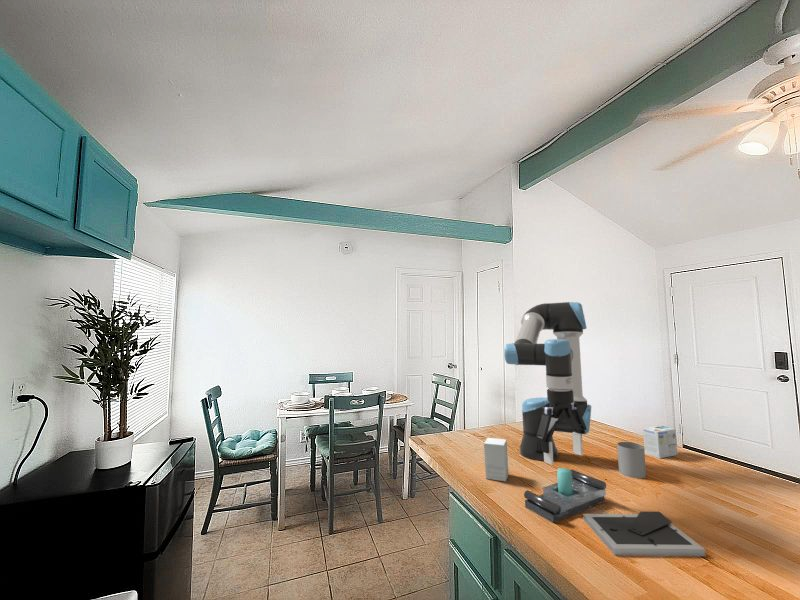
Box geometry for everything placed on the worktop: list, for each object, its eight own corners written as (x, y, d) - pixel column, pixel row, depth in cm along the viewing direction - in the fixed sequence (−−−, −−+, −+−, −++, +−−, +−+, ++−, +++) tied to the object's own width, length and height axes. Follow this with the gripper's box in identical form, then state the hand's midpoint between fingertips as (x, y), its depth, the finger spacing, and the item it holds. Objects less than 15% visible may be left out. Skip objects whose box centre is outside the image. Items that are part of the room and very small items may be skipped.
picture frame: (660, 522, 98) (583, 521, 99) (659, 511, 98) (582, 511, 100) (705, 558, 83) (614, 557, 84) (704, 545, 83) (613, 544, 84)
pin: (556, 503, 109) (554, 469, 109) (564, 500, 110) (562, 467, 111) (567, 509, 105) (565, 474, 106) (576, 505, 107) (574, 471, 108)
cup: (650, 479, 124) (648, 449, 125) (624, 477, 126) (622, 448, 127) (639, 469, 133) (637, 442, 133) (615, 468, 134) (613, 441, 135)
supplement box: (509, 474, 131) (507, 439, 132) (506, 482, 124) (504, 445, 125) (488, 471, 134) (487, 437, 135) (484, 478, 127) (483, 442, 128)
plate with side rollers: (523, 506, 107) (522, 484, 108) (575, 488, 118) (574, 468, 119) (554, 523, 97) (553, 499, 98) (607, 502, 109) (606, 480, 109)
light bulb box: (662, 450, 153) (660, 424, 154) (678, 455, 146) (676, 428, 147) (644, 453, 149) (642, 427, 150) (660, 458, 143) (658, 431, 144)
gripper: (541, 396, 101) (546, 472, 100) (596, 386, 113) (600, 454, 112) (521, 391, 108) (525, 463, 107) (574, 383, 120) (578, 447, 118)
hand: (563, 458), depth 109 cm, fingers open, 13 cm apart
